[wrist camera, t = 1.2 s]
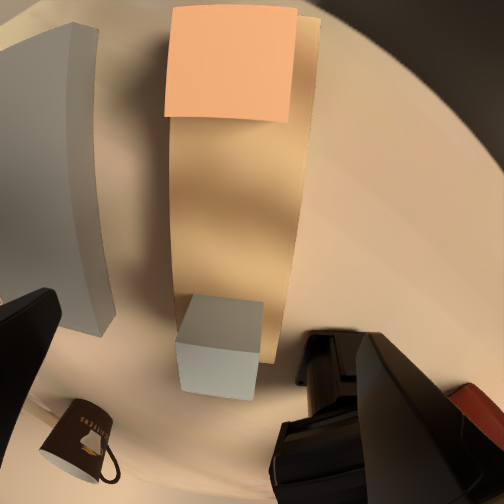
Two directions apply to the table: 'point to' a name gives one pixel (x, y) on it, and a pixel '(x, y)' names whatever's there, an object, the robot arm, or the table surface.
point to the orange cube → (231, 62)
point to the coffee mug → (81, 442)
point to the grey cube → (220, 346)
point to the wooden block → (242, 199)
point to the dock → (52, 177)
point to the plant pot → (481, 412)
